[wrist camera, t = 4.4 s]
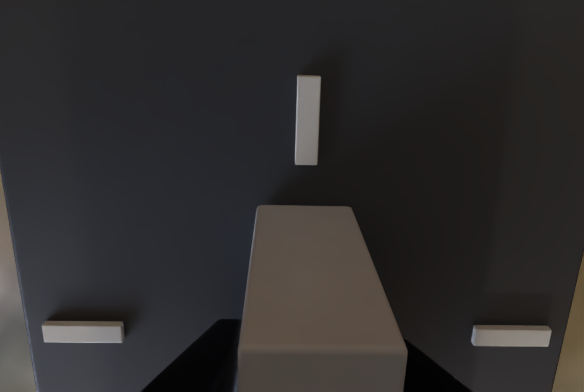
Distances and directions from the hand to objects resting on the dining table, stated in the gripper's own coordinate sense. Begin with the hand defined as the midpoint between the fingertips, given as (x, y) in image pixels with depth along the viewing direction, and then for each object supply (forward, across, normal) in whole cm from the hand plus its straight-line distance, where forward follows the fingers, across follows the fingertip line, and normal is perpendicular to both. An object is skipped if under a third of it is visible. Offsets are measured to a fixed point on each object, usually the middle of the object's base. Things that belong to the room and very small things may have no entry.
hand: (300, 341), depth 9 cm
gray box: (0, 0, 0) cm, 0 cm away
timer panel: (+3, 0, 0) cm, 3 cm away
